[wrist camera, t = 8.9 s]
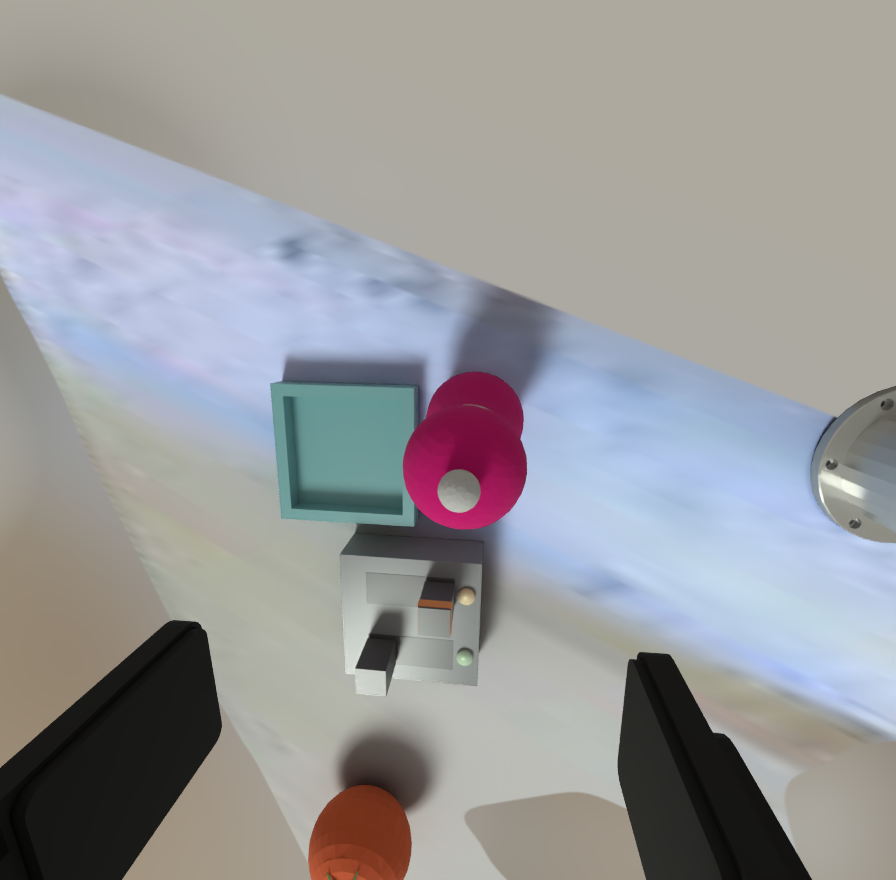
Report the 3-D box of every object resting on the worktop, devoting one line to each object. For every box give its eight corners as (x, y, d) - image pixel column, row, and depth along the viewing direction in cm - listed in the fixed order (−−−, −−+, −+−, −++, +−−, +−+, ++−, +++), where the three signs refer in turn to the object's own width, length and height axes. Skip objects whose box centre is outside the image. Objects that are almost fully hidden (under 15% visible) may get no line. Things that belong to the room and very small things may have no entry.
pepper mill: (502, 463, 37) (512, 604, 18) (423, 435, 37) (347, 546, 18) (533, 384, 35) (581, 445, 16) (449, 355, 35) (396, 381, 16)
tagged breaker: (455, 582, 35) (451, 609, 32) (454, 609, 36) (450, 638, 33) (424, 580, 36) (416, 607, 32) (424, 606, 36) (416, 635, 33)
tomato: (319, 762, 47) (275, 871, 38) (409, 759, 46) (387, 872, 36) (340, 832, 50) (302, 952, 40) (426, 831, 48) (409, 956, 38)
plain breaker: (395, 640, 37) (385, 671, 34) (396, 663, 38) (386, 696, 34) (367, 637, 38) (354, 668, 34) (368, 660, 38) (355, 693, 35)
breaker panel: (483, 541, 39) (482, 566, 35) (478, 653, 42) (477, 689, 38) (354, 533, 40) (338, 556, 36) (358, 643, 43) (344, 676, 39)
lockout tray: (418, 385, 36) (413, 388, 34) (418, 517, 39) (414, 526, 37) (281, 381, 37) (270, 383, 35) (291, 509, 40) (281, 518, 38)
